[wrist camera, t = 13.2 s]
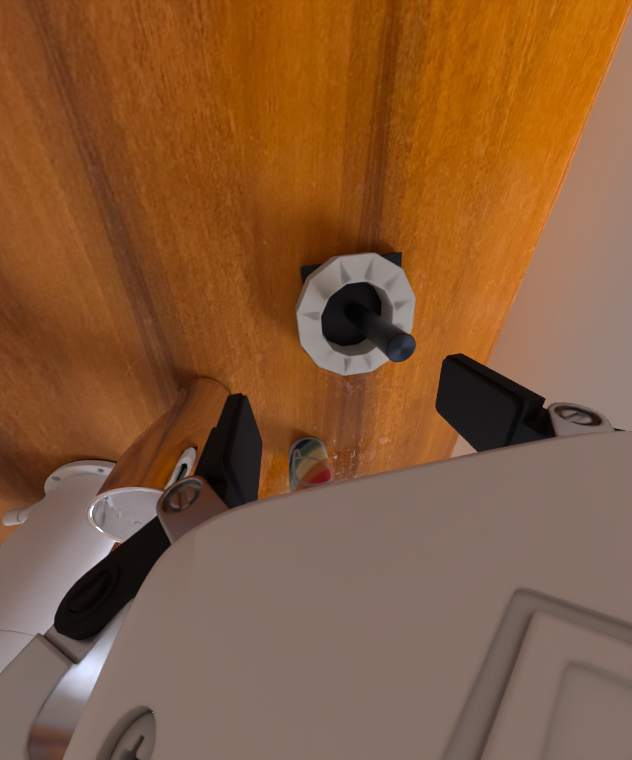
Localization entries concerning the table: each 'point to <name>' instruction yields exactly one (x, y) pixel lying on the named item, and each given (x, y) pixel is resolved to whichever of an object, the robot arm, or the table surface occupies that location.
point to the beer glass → (156, 461)
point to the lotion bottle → (308, 464)
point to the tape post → (362, 317)
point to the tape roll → (327, 282)
